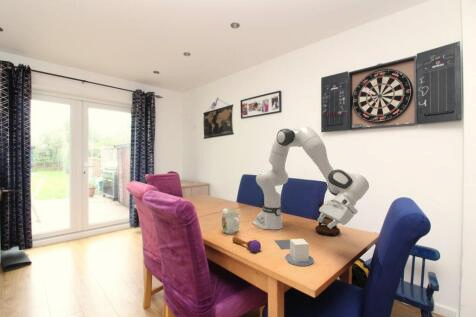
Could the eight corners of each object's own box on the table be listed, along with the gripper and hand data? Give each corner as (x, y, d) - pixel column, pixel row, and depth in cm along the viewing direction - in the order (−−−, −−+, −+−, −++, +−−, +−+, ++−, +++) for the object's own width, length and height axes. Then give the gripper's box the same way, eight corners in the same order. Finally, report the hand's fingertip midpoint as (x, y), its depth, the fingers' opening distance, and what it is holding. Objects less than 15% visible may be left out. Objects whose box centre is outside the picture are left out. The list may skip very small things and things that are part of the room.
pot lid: (279, 258, 111) (279, 252, 111) (297, 251, 119) (297, 245, 119) (301, 269, 101) (301, 262, 101) (319, 261, 108) (319, 254, 108)
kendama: (239, 233, 135) (263, 241, 119) (238, 244, 134) (262, 253, 118) (231, 234, 131) (255, 241, 116) (229, 245, 130) (254, 254, 115)
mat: (274, 241, 133) (274, 240, 133) (295, 240, 135) (295, 239, 135) (281, 250, 120) (281, 249, 120) (305, 249, 122) (305, 248, 122)
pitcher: (231, 238, 138) (230, 215, 138) (216, 230, 153) (216, 209, 153) (246, 235, 144) (246, 212, 144) (231, 227, 159) (231, 207, 159)
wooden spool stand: (342, 231, 150) (342, 200, 149) (337, 238, 137) (337, 204, 137) (318, 227, 158) (318, 198, 158) (312, 233, 146) (312, 202, 145)
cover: (290, 255, 113) (289, 239, 112) (302, 255, 113) (302, 238, 113) (295, 262, 106) (295, 244, 106) (308, 261, 107) (308, 243, 107)
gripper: (327, 195, 122) (309, 214, 121) (351, 203, 102) (330, 226, 101) (335, 203, 123) (317, 222, 122) (360, 212, 102) (339, 236, 101)
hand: (323, 224), depth 111 cm, fingers open, 8 cm apart
